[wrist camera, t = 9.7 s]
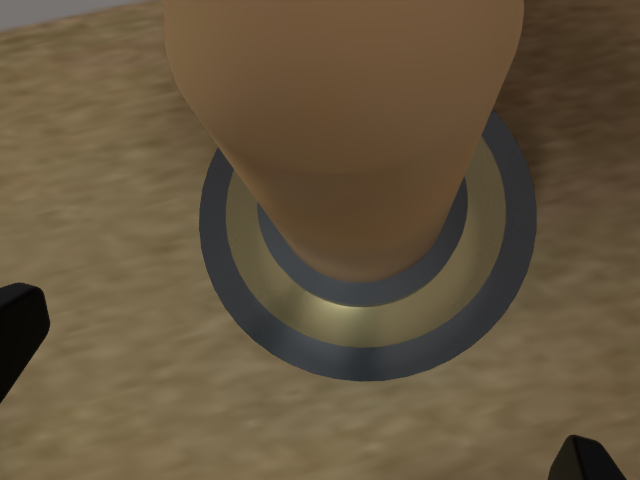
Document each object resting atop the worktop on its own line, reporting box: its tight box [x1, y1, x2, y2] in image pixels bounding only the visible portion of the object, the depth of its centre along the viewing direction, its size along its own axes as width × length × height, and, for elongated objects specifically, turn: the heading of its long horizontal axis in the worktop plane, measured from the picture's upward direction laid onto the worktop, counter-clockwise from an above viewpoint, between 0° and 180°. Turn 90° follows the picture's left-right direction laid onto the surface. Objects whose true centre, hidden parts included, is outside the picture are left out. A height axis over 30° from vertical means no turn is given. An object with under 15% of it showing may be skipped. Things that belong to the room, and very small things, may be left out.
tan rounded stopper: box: [164, 0, 524, 307], centre depth 13 cm, size 6×6×10 cm
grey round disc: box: [199, 109, 536, 381], centre depth 19 cm, size 11×11×3 cm
